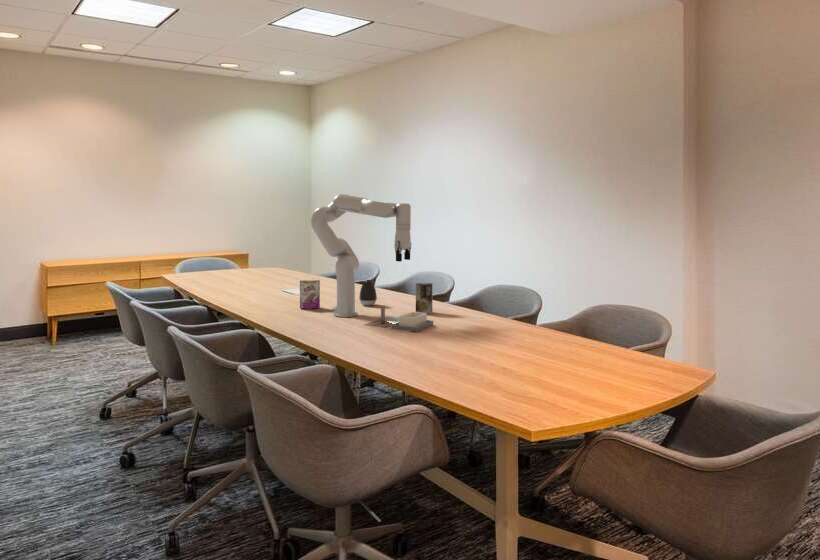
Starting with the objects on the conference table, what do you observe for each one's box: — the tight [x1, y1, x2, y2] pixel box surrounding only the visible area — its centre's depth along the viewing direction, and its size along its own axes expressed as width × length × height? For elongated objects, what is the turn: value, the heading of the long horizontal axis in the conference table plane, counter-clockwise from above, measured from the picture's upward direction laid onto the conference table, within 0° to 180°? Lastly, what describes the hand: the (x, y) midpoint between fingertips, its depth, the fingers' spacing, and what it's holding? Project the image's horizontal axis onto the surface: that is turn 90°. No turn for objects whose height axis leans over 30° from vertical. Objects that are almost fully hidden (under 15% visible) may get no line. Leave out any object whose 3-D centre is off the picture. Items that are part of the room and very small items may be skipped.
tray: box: [390, 319, 434, 333], centre depth 297 cm, size 13×19×2 cm
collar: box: [398, 311, 428, 327], centre depth 297 cm, size 8×14×6 cm, turn 154°
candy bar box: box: [299, 278, 321, 310], centre depth 345 cm, size 11×5×16 cm, turn 98°
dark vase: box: [358, 279, 378, 307], centre depth 356 cm, size 10×10×15 cm
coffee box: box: [415, 282, 433, 315], centre depth 333 cm, size 9×6×16 cm
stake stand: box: [363, 308, 393, 329], centre depth 302 cm, size 13×17×8 cm
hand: (403, 260), depth 316 cm, fingers open, 9 cm apart
